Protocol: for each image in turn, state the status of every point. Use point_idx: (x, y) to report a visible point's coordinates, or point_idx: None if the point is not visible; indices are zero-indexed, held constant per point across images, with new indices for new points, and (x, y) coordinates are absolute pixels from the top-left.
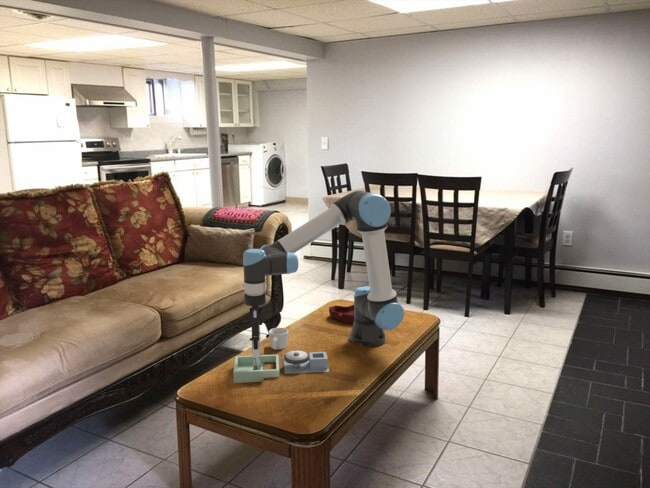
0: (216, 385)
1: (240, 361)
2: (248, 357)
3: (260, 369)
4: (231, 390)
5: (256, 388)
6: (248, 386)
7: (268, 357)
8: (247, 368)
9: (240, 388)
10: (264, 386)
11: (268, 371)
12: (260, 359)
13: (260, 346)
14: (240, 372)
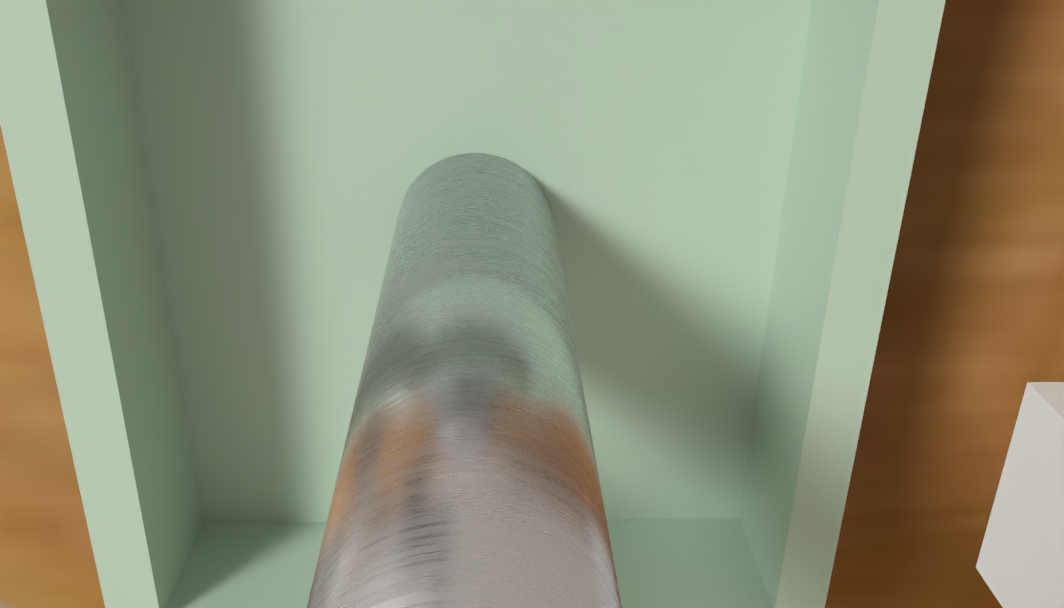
0: None
1: (182, 530)
2: (138, 448)
3: (519, 177)
4: (984, 533)
5: (1046, 211)
6: (935, 329)
7: (65, 18)
8: None
9: (964, 432)
10: (1020, 79)
11: (931, 37)
12: (518, 254)
13: (498, 434)
14: (832, 547)
